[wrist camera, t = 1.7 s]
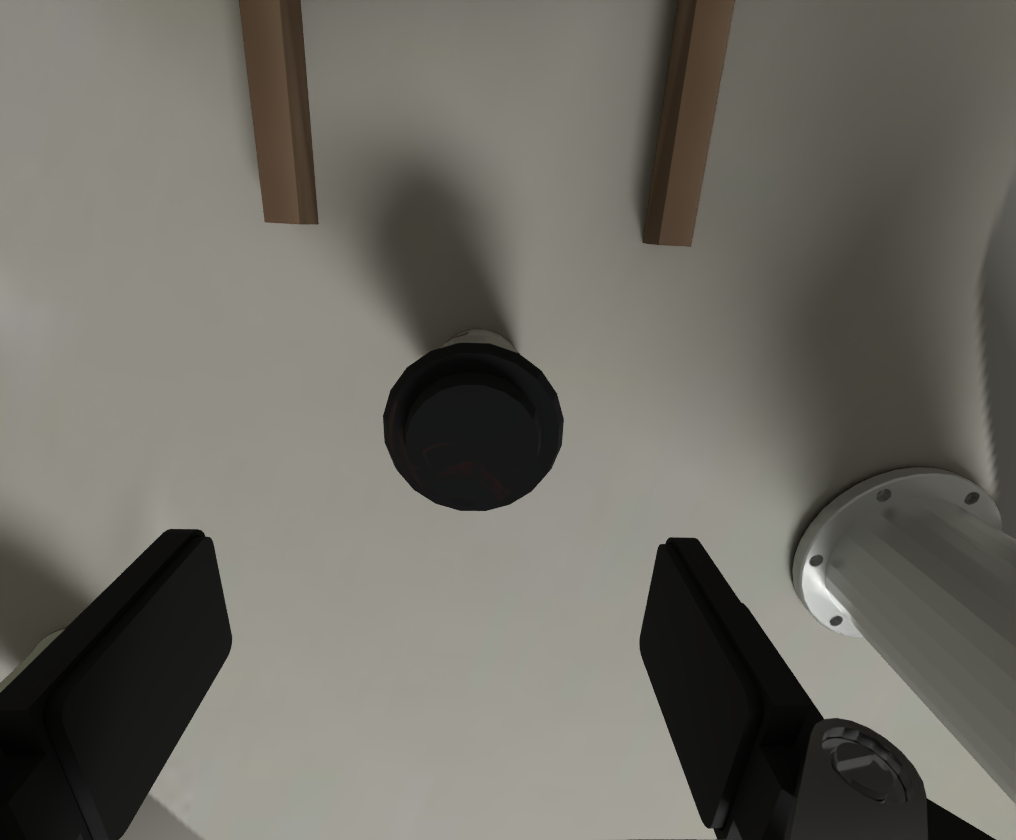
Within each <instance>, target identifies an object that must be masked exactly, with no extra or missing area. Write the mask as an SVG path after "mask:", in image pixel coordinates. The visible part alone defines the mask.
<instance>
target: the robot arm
mask: <svg viewBox="0 0 1016 840" xmlns="http://www.w3.org/2000/svg"><path fill="white" fill-rule="evenodd" d="M792 572H793V584H794V587H795V590H796V593H797V596H798V598H799V599H800V601H801V602H802V604H803V605H804V606H805V608H806V609H807V610H808V611H809V613H810V614H811V615H812V616H813V617H814V618H815V619H816V620H817V621H818V622H819V623H820V624H822V625H823V626H825V627H826V628H828V629H830V630H832V631H835V632H837V633H840V634H842V635H847V636H852V637H858V638H865V639H866V640H867V641H868V642H869V643H870V644H871V645H872V647H873V648H874V649H875V650H876V651H877V652H878V653H879V654H880V655H881V657H882V658H883V659H884V660H885V661H886V662H887V663H888V664H889V665H890V666H891V668H892V669H893V670H894V671H895V672H896V673H897V674H898V675H899V676H900V677H901V679H902V680H903V681H904V682H905V683H906V684H907V685H908V686H909V687H910V689H911V690H912V691H913V692H914V693H915V694H916V695H917V696H918V697H919V698H920V700H921V701H922V702H923V703H924V704H925V705H926V706H927V707H928V708H929V709H930V711H931V712H932V713H933V714H934V715H935V716H936V717H937V718H938V719H939V721H940V722H941V723H942V724H943V725H944V726H945V727H946V728H947V729H948V730H949V732H950V733H951V734H952V735H953V736H954V737H955V738H956V739H957V740H958V741H959V743H960V744H961V745H962V746H963V747H964V748H965V749H966V750H967V751H968V752H969V754H970V755H971V756H972V757H973V758H974V759H975V760H976V761H977V762H978V764H979V765H980V766H981V767H982V768H983V769H984V770H985V771H986V772H987V773H988V775H989V776H990V777H991V778H992V779H993V780H994V781H995V782H996V783H997V784H998V786H999V787H1000V788H1001V789H1002V790H1003V791H1004V792H1005V793H1006V794H1007V796H1008V797H1009V798H1010V799H1011V800H1012V801H1013V802H1014V803H1015V804H1016V540H1015V539H1014V538H1012V537H1010V536H1009V535H1007V534H1005V533H1004V532H1002V523H1001V516H1000V513H999V511H998V508H997V506H996V504H995V502H994V500H993V499H992V498H991V497H990V496H989V495H988V494H987V492H986V491H985V490H984V489H982V488H981V487H979V486H978V485H976V484H974V483H973V482H971V481H969V480H967V479H965V478H963V477H961V476H959V475H957V474H955V473H953V472H950V471H946V470H942V469H937V468H926V467H913V468H905V469H898V470H893V471H890V472H886V473H883V474H880V475H876V476H874V477H872V478H869V479H867V480H865V481H863V482H861V483H859V484H856V485H855V486H853V487H852V488H850V489H848V490H847V491H845V492H844V493H842V494H841V495H839V496H838V497H836V498H835V499H834V500H833V501H832V502H831V503H830V504H828V505H827V506H826V507H825V508H824V509H823V510H822V511H821V512H820V513H819V514H818V515H817V517H816V518H815V519H814V520H813V521H812V523H811V524H810V525H809V527H808V528H807V530H806V532H805V533H804V535H803V537H802V538H801V540H800V543H799V545H798V548H797V551H796V553H795V557H794V563H793V570H792ZM231 645H232V634H231V629H230V624H229V619H228V614H227V609H226V604H225V599H224V594H223V589H222V584H221V579H220V574H219V569H218V564H217V559H216V554H215V549H214V544H213V541H212V539H211V538H210V537H205V535H204V533H203V532H202V531H201V530H198V529H169V530H167V531H165V532H164V533H163V534H162V535H161V536H160V537H158V538H157V539H156V540H155V541H154V542H153V543H152V544H151V545H150V546H149V547H148V548H147V549H146V550H145V551H144V552H143V553H142V554H141V555H140V556H139V557H138V558H137V559H136V560H135V561H134V562H133V563H132V564H131V565H130V566H129V567H128V568H127V569H126V570H125V571H124V572H123V573H122V574H121V575H120V576H119V577H118V578H117V579H116V580H115V581H114V582H113V583H112V584H111V585H110V586H109V587H107V588H106V589H105V590H104V591H103V592H102V593H101V594H100V595H99V596H98V597H97V598H96V599H95V600H94V601H93V602H92V603H91V604H90V605H89V606H88V607H87V608H86V609H85V610H84V611H83V612H82V613H81V614H80V615H79V616H78V617H77V618H76V619H75V620H74V621H73V622H72V623H71V624H70V625H69V626H68V627H67V628H66V629H65V630H64V631H63V632H62V633H61V634H60V635H59V636H57V637H56V638H55V639H54V640H53V641H52V642H51V643H50V644H49V645H48V646H47V647H46V648H45V649H44V650H43V651H42V652H41V653H40V654H39V655H38V656H37V657H36V658H35V659H34V660H33V661H32V662H31V663H30V664H29V665H28V666H27V667H26V668H25V669H24V670H23V671H22V672H21V673H20V674H19V675H18V676H17V677H16V678H15V679H14V680H13V681H12V682H11V683H10V684H9V685H7V686H6V687H5V688H4V689H3V690H2V691H1V692H0V840H119V839H120V838H121V837H122V836H123V835H124V833H125V832H126V830H127V829H128V827H129V825H130V823H131V822H132V820H133V818H134V816H135V815H136V813H137V811H138V810H139V808H140V806H141V805H142V803H143V801H144V799H145V798H146V796H147V794H148V793H149V791H150V789H151V787H152V786H153V784H154V782H155V781H156V779H157V777H158V775H159V774H160V772H161V770H162V769H163V767H164V765H165V763H166V762H167V760H168V758H169V757H170V755H171V753H172V751H173V750H174V748H175V746H176V745H177V743H178V741H179V739H180V738H181V736H182V734H183V732H184V731H185V729H186V727H187V726H188V724H189V722H190V720H191V719H192V717H193V715H194V714H195V712H196V710H197V708H198V707H199V705H200V703H201V702H202V700H203V698H204V696H205V695H206V693H207V691H208V690H209V688H210V686H211V684H212V683H213V681H214V679H215V678H216V676H217V674H218V672H219V671H220V669H221V667H222V666H223V664H224V662H225V660H226V659H227V657H228V655H229V652H230V649H231ZM640 652H641V656H642V659H643V662H644V665H645V667H646V670H647V673H648V676H649V678H650V681H651V684H652V686H653V689H654V692H655V695H656V697H657V700H658V703H659V706H660V708H661V711H662V714H663V716H664V719H665V722H666V725H667V727H668V730H669V733H670V736H671V738H672V741H673V744H674V746H675V749H676V752H677V755H678V757H679V760H680V763H681V766H682V768H683V771H684V774H685V776H686V779H687V782H688V785H689V787H690V790H691V793H692V796H693V798H694V801H695V804H696V806H697V809H698V812H699V815H700V817H701V820H702V822H703V823H704V825H705V826H706V827H707V828H713V829H714V832H715V834H716V837H717V839H718V840H996V839H994V838H992V837H991V836H989V835H987V834H986V833H984V832H982V831H981V830H979V829H977V828H976V827H974V826H972V825H971V824H969V823H967V822H966V821H964V820H962V819H961V818H959V817H957V816H955V815H954V814H952V813H950V812H949V811H947V810H945V809H944V808H942V807H940V806H939V805H937V804H935V803H934V802H932V801H930V800H929V799H927V798H926V792H925V788H924V784H923V781H922V779H921V777H920V776H919V774H918V772H917V770H916V769H915V767H914V766H913V764H912V763H911V762H910V761H909V760H908V759H907V757H906V756H905V755H904V754H903V753H902V752H901V751H900V750H899V749H898V748H897V747H895V746H894V745H893V744H892V743H891V742H889V741H888V740H887V739H886V738H884V737H883V736H881V735H880V734H878V733H876V732H875V731H873V730H871V729H870V728H868V727H866V726H863V725H861V724H858V723H856V722H853V721H850V720H844V719H839V718H832V719H824V718H823V717H822V715H821V714H820V712H819V711H818V709H817V708H816V707H815V705H814V704H813V702H812V701H811V699H810V698H809V696H808V695H807V693H806V692H805V690H804V689H803V688H802V686H801V685H800V683H799V682H798V680H797V679H796V677H795V676H794V674H793V673H792V672H791V670H790V669H789V667H788V666H787V664H786V663H785V661H784V660H783V658H782V657H781V656H780V654H779V653H778V651H777V650H776V648H775V647H774V645H773V644H772V642H771V641H770V640H769V638H768V637H767V635H766V634H765V632H764V631H763V629H762V628H761V626H760V625H759V624H758V622H757V621H756V619H755V618H754V616H753V615H752V613H751V612H750V610H749V609H748V608H747V607H746V606H745V605H744V604H743V603H741V602H740V600H739V599H738V597H737V596H736V595H735V593H734V592H733V590H732V589H731V587H730V586H729V584H728V583H727V581H726V580H725V578H724V577H723V575H722V574H721V572H720V571H719V569H718V568H717V567H716V565H715V564H714V562H713V561H712V559H711V558H710V556H709V555H708V553H707V552H706V550H705V549H704V547H703V546H702V544H701V543H700V542H699V540H698V539H696V538H672V537H670V538H668V540H667V541H666V544H661V545H659V547H658V550H657V555H656V560H655V565H654V570H653V575H652V580H651V585H650V590H649V595H648V600H647V605H646V609H645V614H644V619H643V624H642V629H641V634H640ZM629 840H695V839H629Z"/></svg>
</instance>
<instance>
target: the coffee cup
mask: <svg viewBox="0 0 1016 840" xmlns="http://www.w3.org/2000/svg"><path fill="white" fill-rule="evenodd" d="M563 422H564V419H563V415H562V411H561V407H560V404H559V400H558V396H557V393H556V392H555V390H554V389H553V387H552V386H551V384H550V383H549V381H548V380H547V378H546V377H545V375H544V374H543V372H542V371H541V370H540V369H538V368H537V367H536V366H534V365H533V364H532V363H531V362H529V361H528V360H527V359H525V358H524V357H523V356H521V355H520V354H519V353H518V352H517V350H516V349H515V348H514V347H513V346H512V345H511V343H510V342H509V341H507V340H506V339H505V338H503V337H502V336H501V335H499V334H497V333H494V332H492V331H489V330H484V329H471V330H468V331H465V332H461V333H459V334H457V335H456V336H454V337H453V338H452V339H450V340H449V341H447V342H446V343H445V344H444V345H443V346H441V347H440V348H439V349H436V350H433V351H430V352H429V353H427V354H426V355H424V356H423V357H421V358H420V359H419V360H417V361H416V362H414V363H413V364H411V365H410V366H409V367H407V368H406V370H405V371H404V372H403V374H402V375H401V377H400V378H399V379H398V381H397V382H396V383H395V385H394V386H393V388H392V389H391V390H390V394H389V397H388V401H387V404H386V408H385V411H384V415H383V423H384V439H385V444H386V447H387V449H388V451H389V454H390V456H391V459H392V461H393V463H394V466H395V468H396V469H397V471H398V472H399V473H400V474H401V475H402V476H403V478H404V479H405V480H406V481H407V482H408V483H409V485H410V486H411V487H412V488H413V489H414V490H415V491H417V492H418V493H420V494H421V495H423V496H425V497H426V498H428V499H429V500H431V501H432V502H434V503H436V504H439V505H443V506H446V507H449V508H453V509H456V510H460V511H487V510H491V509H494V508H498V507H502V506H506V505H509V504H511V503H513V502H515V501H516V500H518V499H520V498H521V497H523V496H525V495H526V494H528V493H530V492H531V491H532V490H533V489H534V488H535V487H536V486H537V485H538V483H539V482H540V481H541V480H542V479H543V478H544V477H545V476H546V474H547V473H548V472H549V471H550V470H551V469H552V466H553V464H554V462H555V459H556V457H557V455H558V453H559V450H560V448H561V446H562V435H563Z"/></svg>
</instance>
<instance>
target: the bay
mask: <svg viewBox="0 0 1016 840" xmlns="http://www.w3.org/2000/svg"><path fill="white" fill-rule="evenodd" d="M734 3H735V0H678V4H677V11H676V18H675V25H674V32H673V39H672V46H671V53H670V59H669V66H668V73H667V80H666V87H665V94H664V101H663V108H662V115H661V121H660V128H659V135H658V142H657V149H656V156H655V163H654V170H653V177H652V183H651V190H650V197H649V204H648V211H647V218H646V225H645V232H644V239H643V243H648V244H656V245H671V246H688V247H691V244H692V238H693V232H694V227H695V221H696V216H697V210H698V205H699V199H700V193H701V188H702V182H703V177H704V171H705V165H706V160H707V154H708V149H709V143H710V138H711V132H712V126H713V121H714V115H715V110H716V104H717V98H718V93H719V87H720V82H721V76H722V70H723V65H724V59H725V54H726V48H727V43H728V37H729V31H730V26H731V20H732V15H733V9H734ZM239 5H240V13H241V22H242V30H243V39H244V47H245V56H246V65H247V73H248V82H249V90H250V99H251V108H252V116H253V125H254V133H255V142H256V150H257V159H258V168H259V176H260V185H261V193H262V202H263V211H264V219H265V222H269V223H287V224H318V214H317V201H316V189H315V176H314V164H313V151H312V139H311V126H310V114H309V101H308V89H307V76H306V64H305V51H304V38H303V26H302V13H301V1H300V0H239Z"/></svg>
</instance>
